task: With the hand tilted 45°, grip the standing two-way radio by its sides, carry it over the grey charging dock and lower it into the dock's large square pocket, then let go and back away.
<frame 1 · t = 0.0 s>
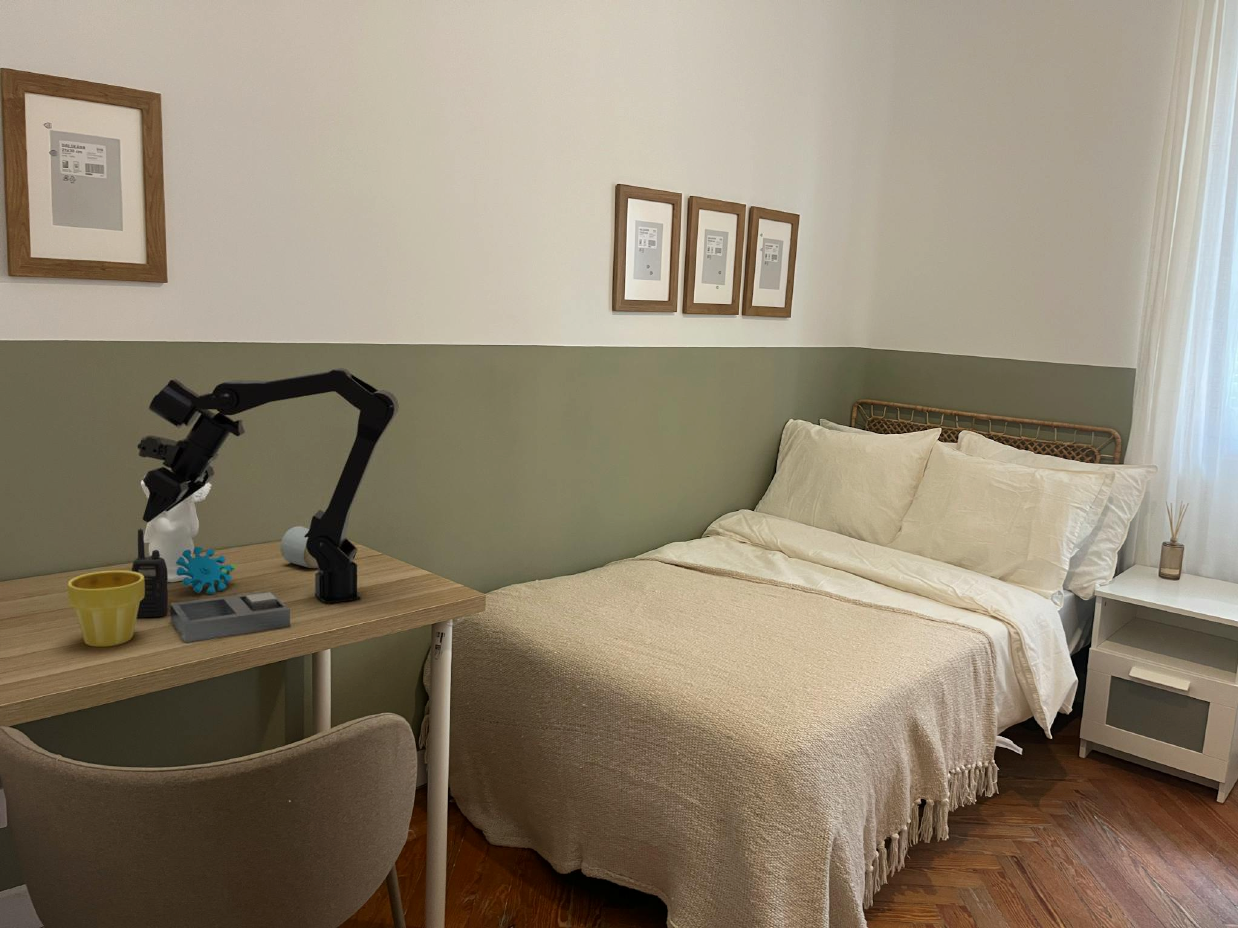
hand: (155, 515, 165), 15 cm above the table, tool tilted 35°, fingers open, 9 cm apart
plant pot: (109, 641, 145), on the table
grey charging dock: (230, 623, 154), on the table
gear: (207, 590, 173), on the table
two-way radio: (152, 615, 157), on the table
cherub figurine: (183, 575, 181), on the table
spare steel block: (261, 619, 157), resting in grey charging dock
ceramic mug: (312, 565, 193), on the table
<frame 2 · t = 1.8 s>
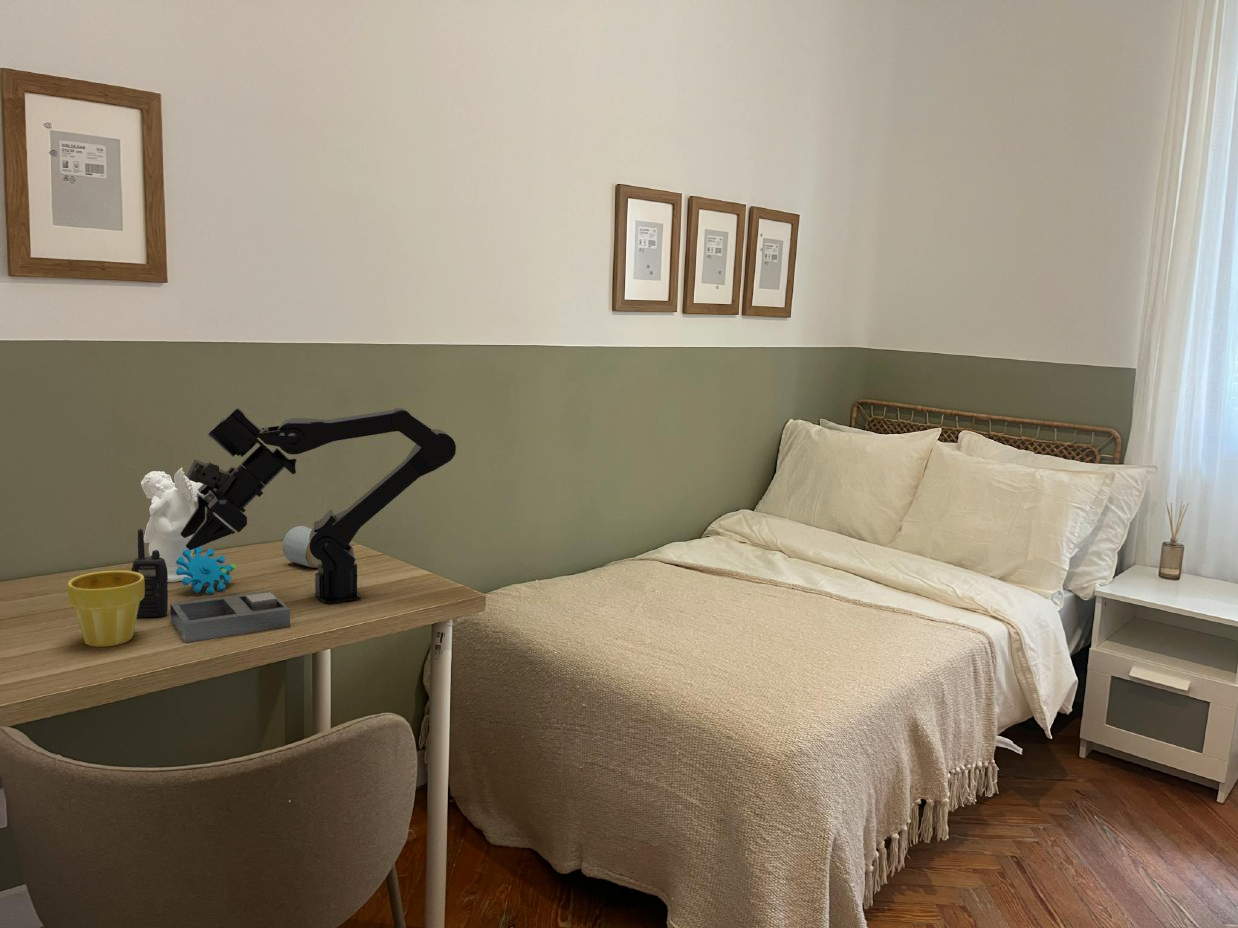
hand: (185, 542, 158), 12 cm above the table, tool tilted 45°, fingers open, 9 cm apart
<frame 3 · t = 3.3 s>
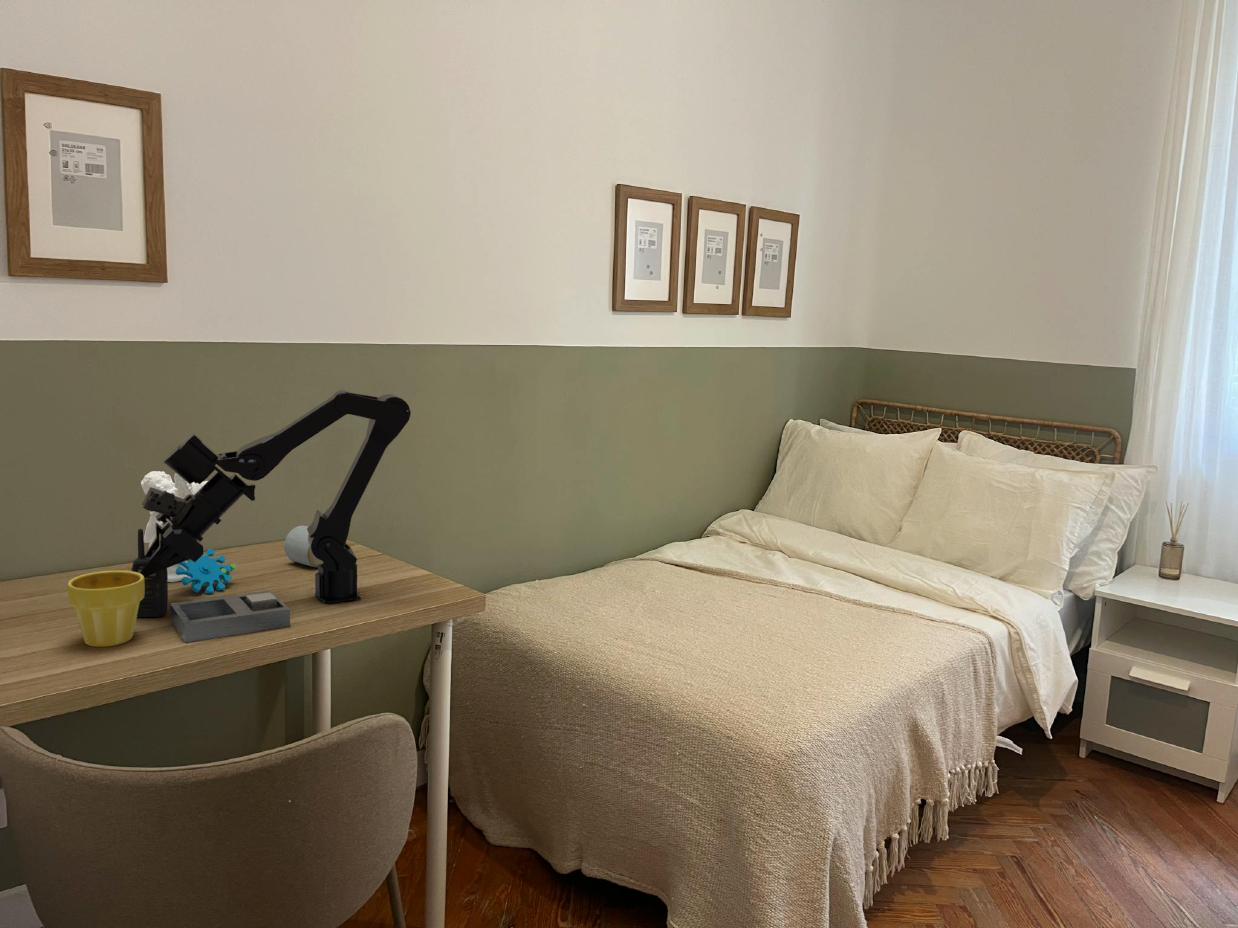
hand: (141, 571, 156), 8 cm above the table, tool tilted 45°, fingers closed on two-way radio, 5 cm apart
two-way radio: (152, 615, 157), on the table, touching gripper
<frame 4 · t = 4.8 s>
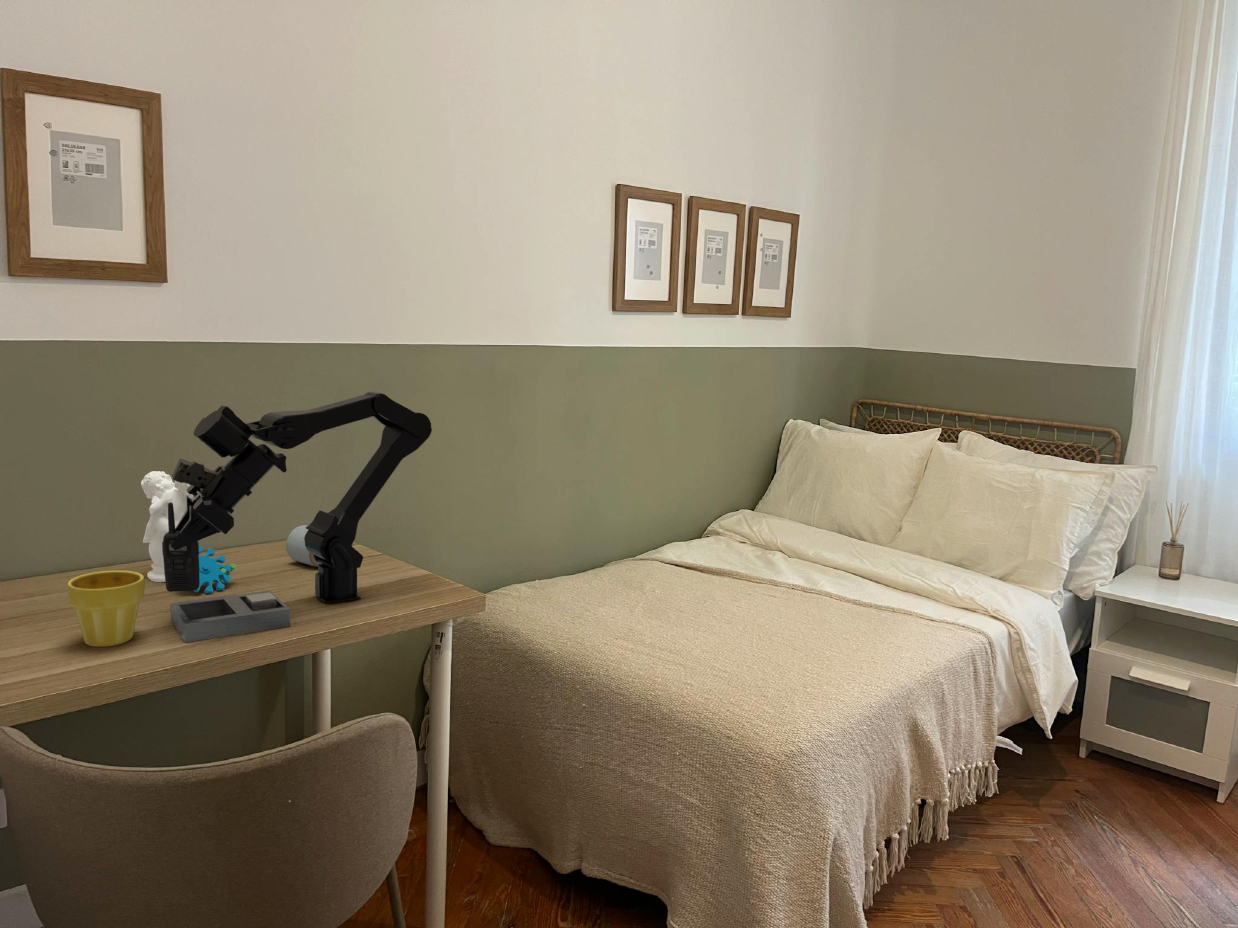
hand: (172, 544, 152), 13 cm above the table, tool tilted 45°, fingers closed on two-way radio, 5 cm apart
two-way radio: (184, 589, 155), point 5 cm above the table, touching gripper
when the fingers open (9 cm above the table, at t = 6.6 s): two-way radio drops 1 cm, resting in grey charging dock.
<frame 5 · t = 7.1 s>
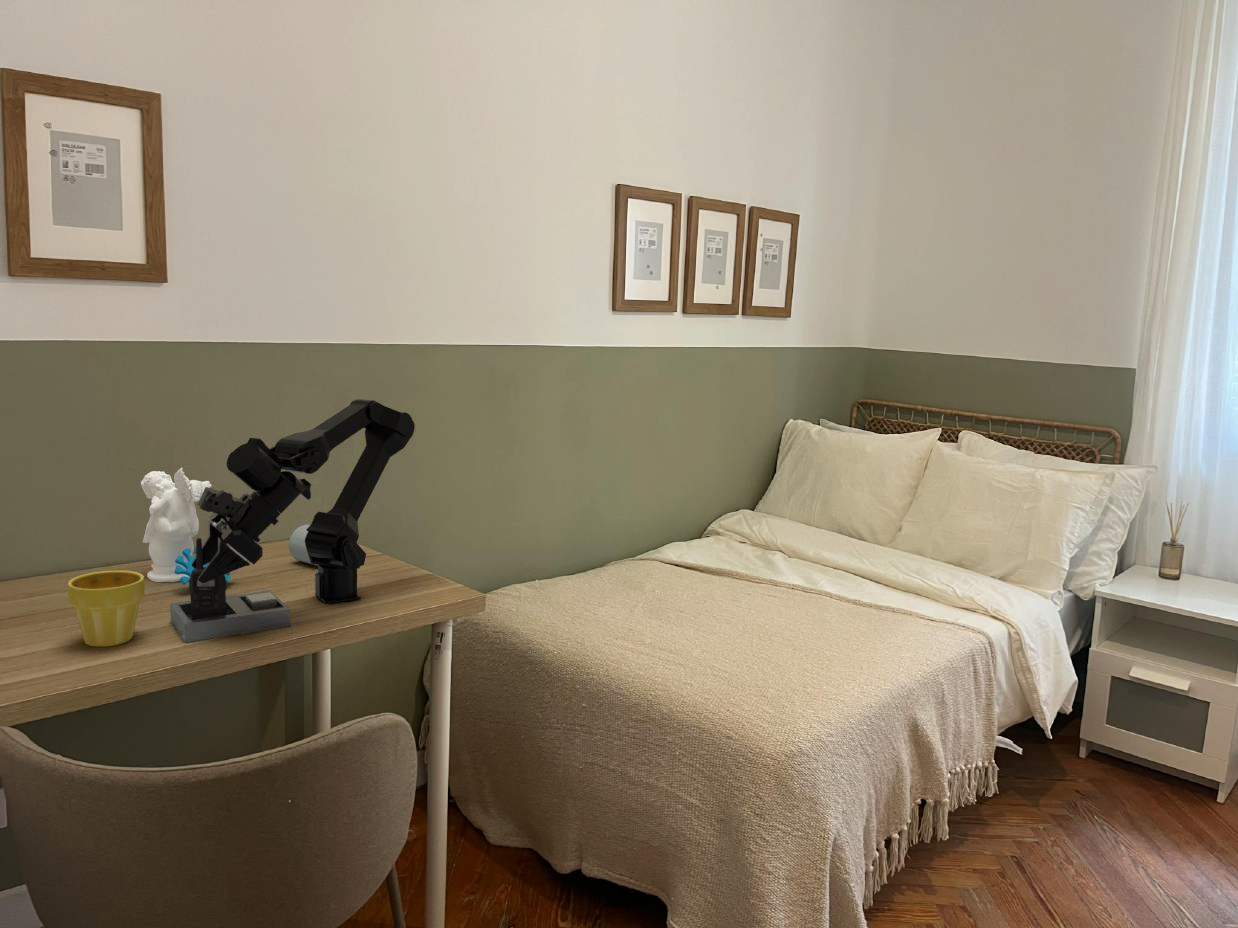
hand: (196, 574, 150), 9 cm above the table, tool tilted 45°, fingers open, 9 cm apart
two-way radio: (209, 626, 153), resting in grey charging dock
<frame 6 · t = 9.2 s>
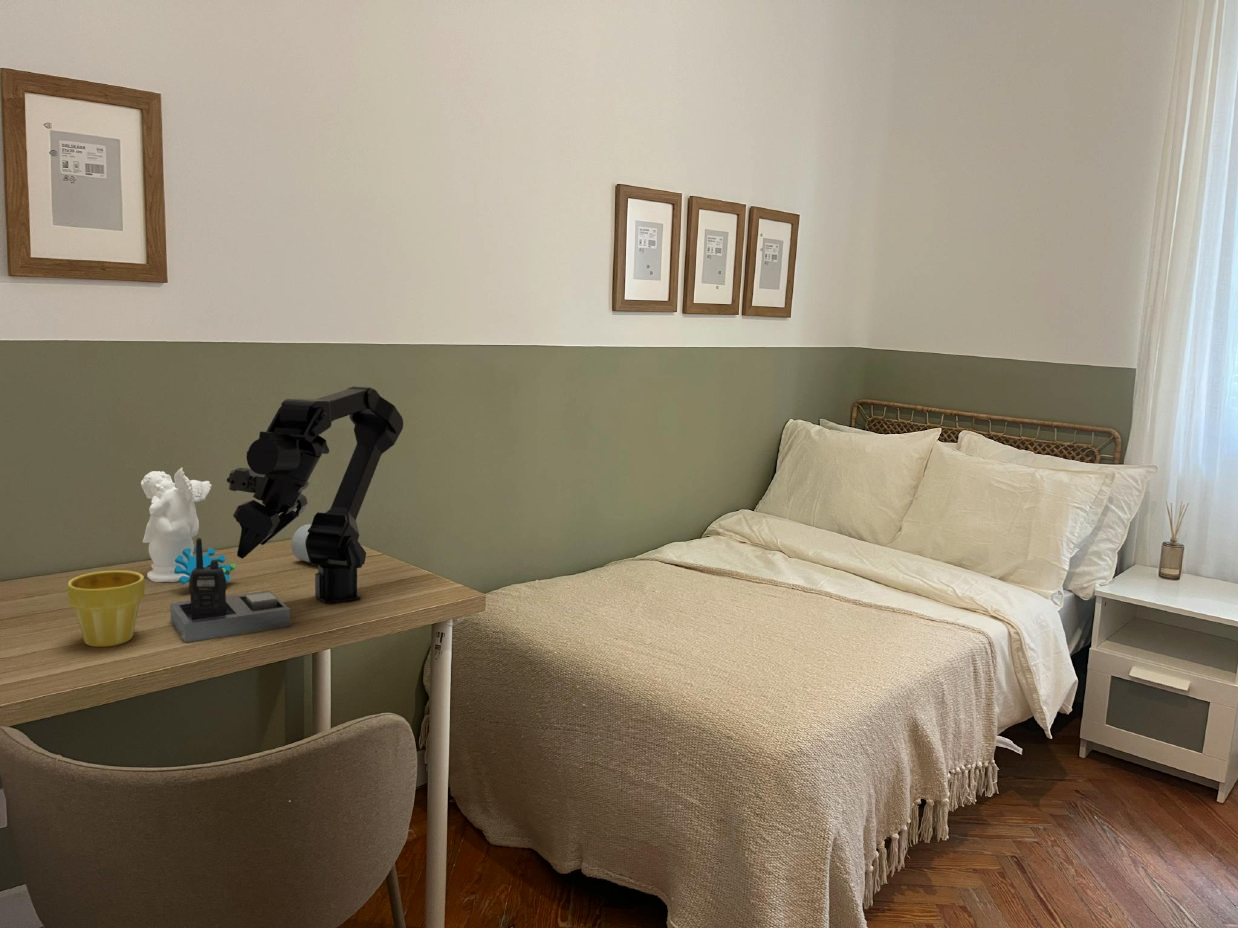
hand: (250, 550, 158), 11 cm above the table, tool tilted 30°, fingers open, 9 cm apart
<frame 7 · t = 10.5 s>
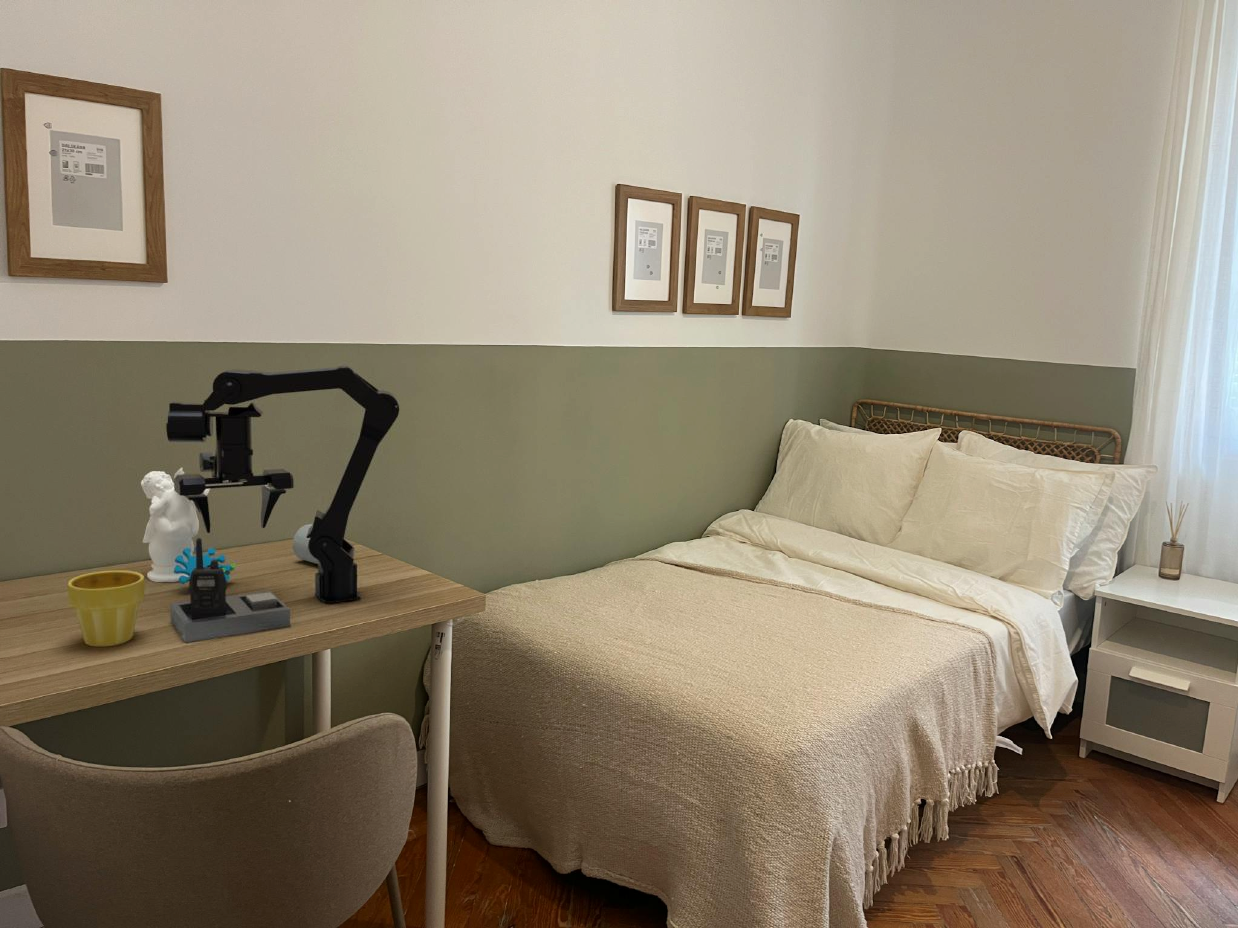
hand: (236, 529, 164), 13 cm above the table, tool pointing down, fingers open, 9 cm apart
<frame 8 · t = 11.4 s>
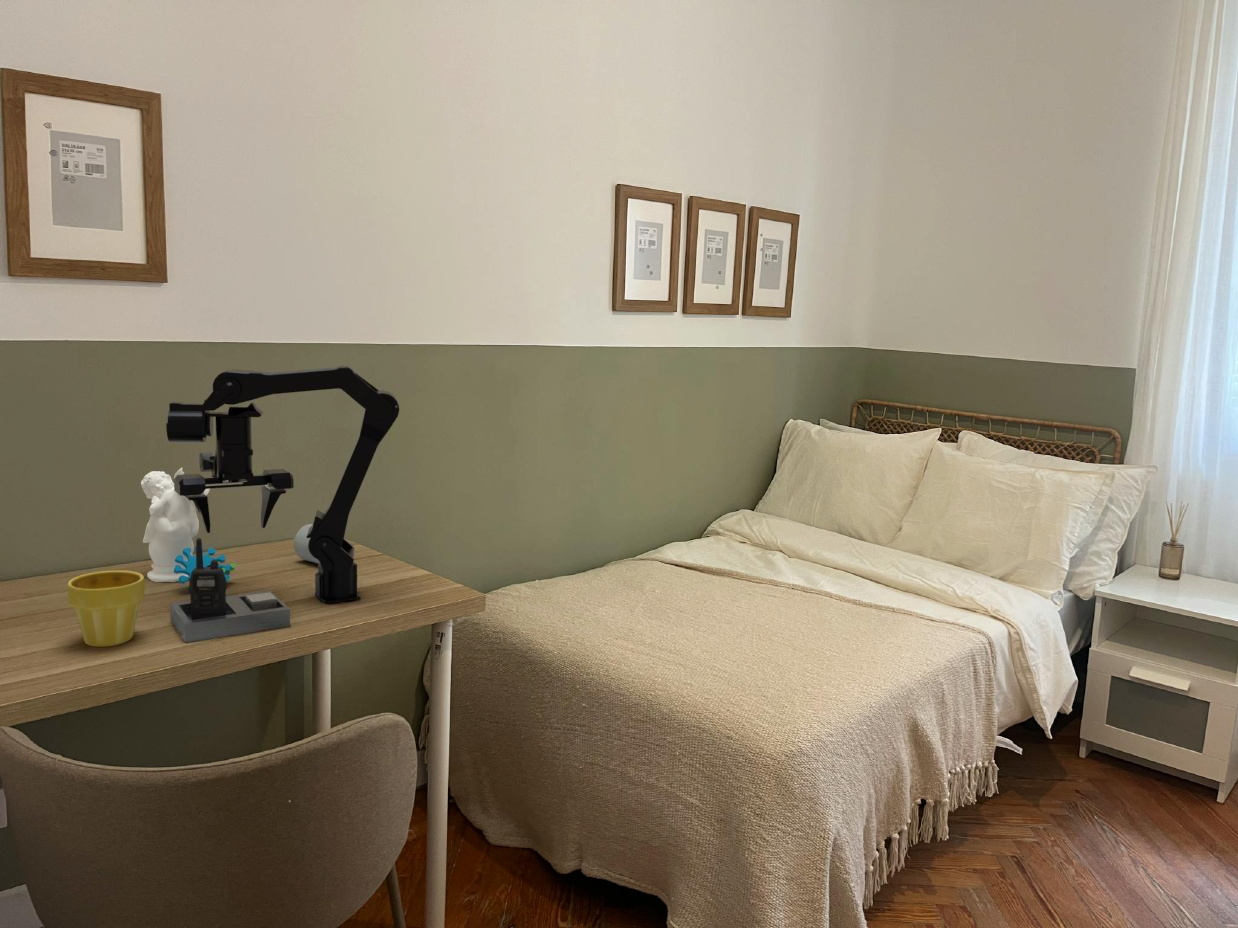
hand: (236, 529, 164), 13 cm above the table, tool pointing down, fingers open, 9 cm apart
at the end: two-way radio 0.7 cm from the target spot, resting in grey charging dock; two-way radio tilted 0°; the gripper is holding nothing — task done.
